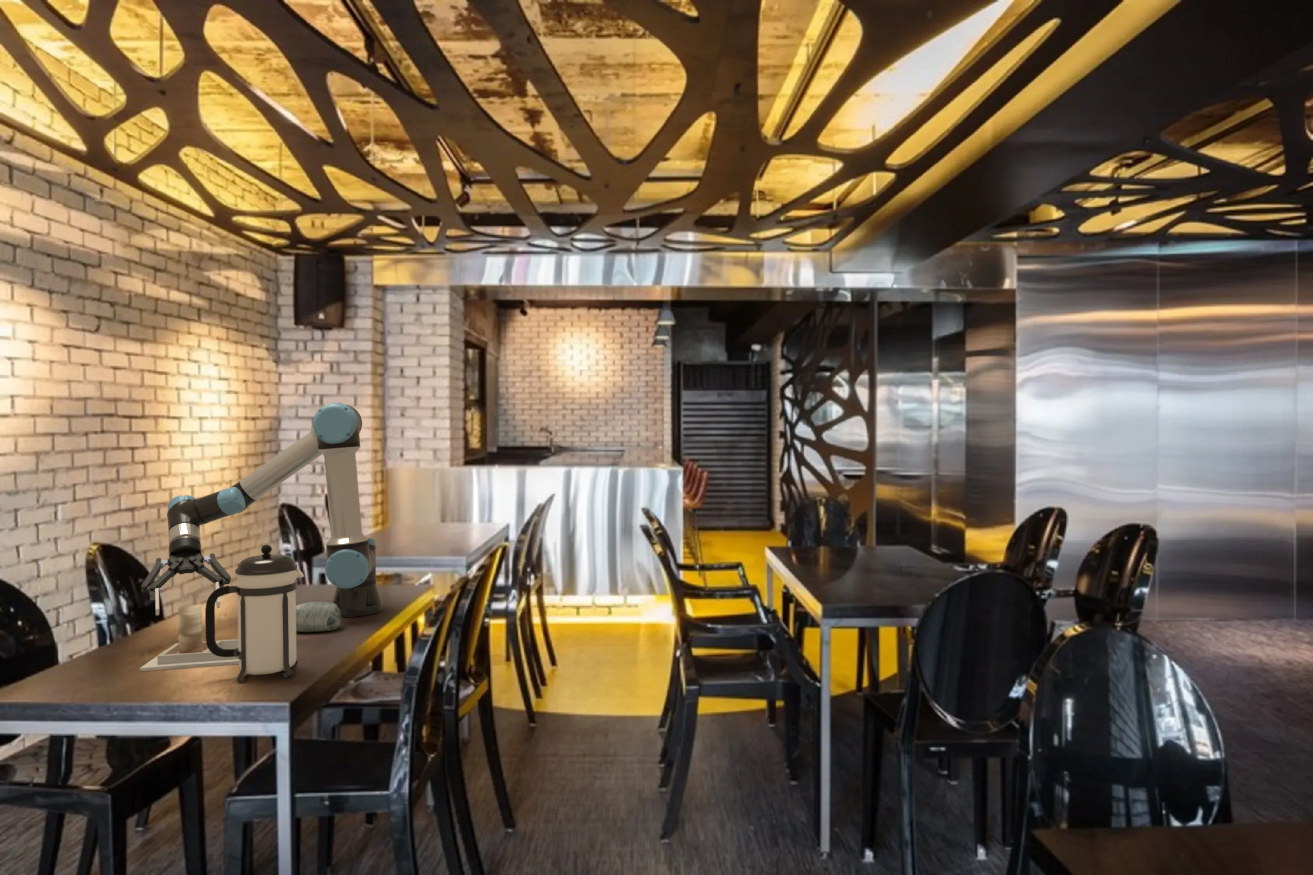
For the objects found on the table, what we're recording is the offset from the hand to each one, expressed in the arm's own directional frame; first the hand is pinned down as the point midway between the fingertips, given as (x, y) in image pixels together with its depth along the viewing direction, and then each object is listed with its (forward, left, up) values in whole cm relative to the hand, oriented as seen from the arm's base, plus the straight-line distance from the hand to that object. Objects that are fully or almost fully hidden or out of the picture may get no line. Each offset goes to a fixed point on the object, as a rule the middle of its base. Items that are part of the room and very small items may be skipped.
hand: (188, 608), depth 202 cm
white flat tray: (-8, +10, -11) cm, 17 cm away
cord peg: (-3, +10, -10) cm, 14 cm away
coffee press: (-24, +29, -11) cm, 39 cm away
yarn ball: (-28, -12, -11) cm, 33 cm away
